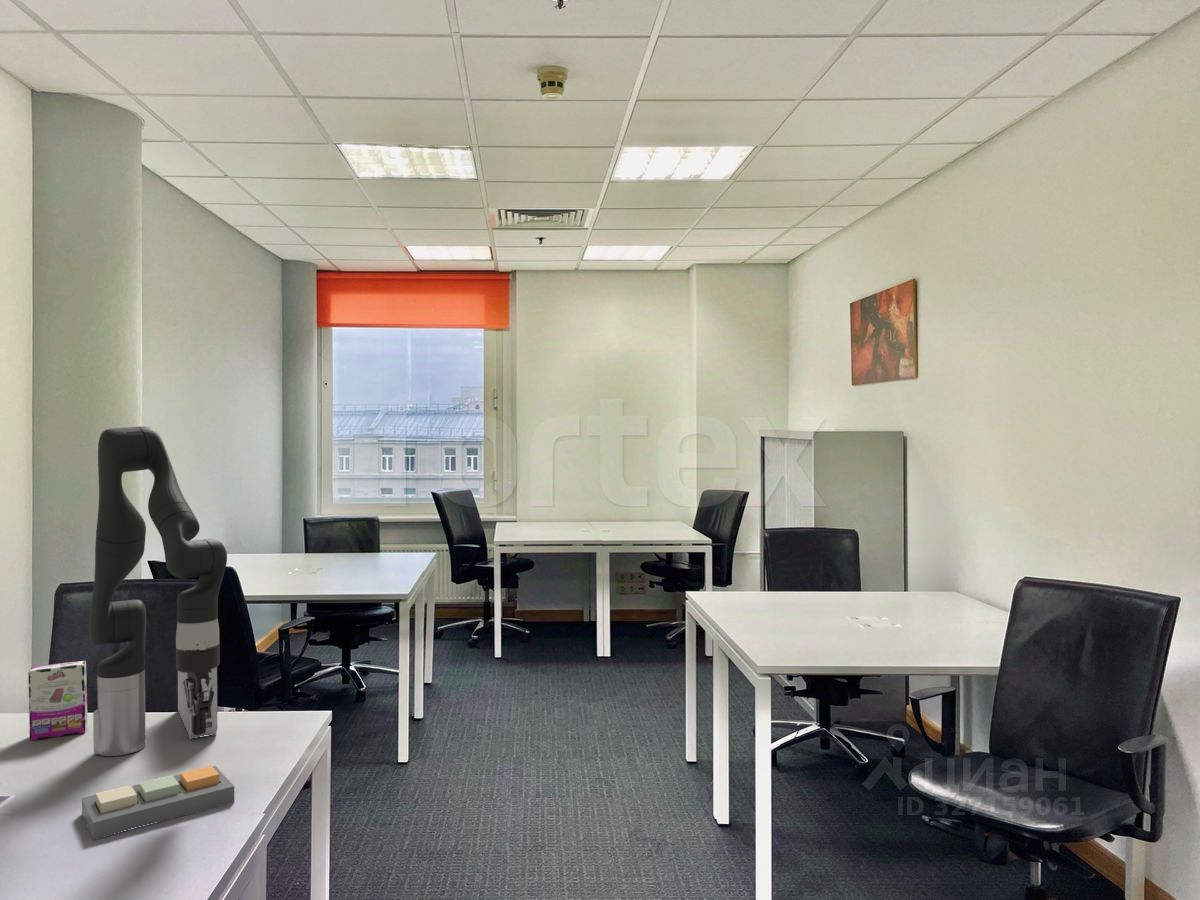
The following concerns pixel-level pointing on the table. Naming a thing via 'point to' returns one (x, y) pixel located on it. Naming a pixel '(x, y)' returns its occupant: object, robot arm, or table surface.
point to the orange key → (199, 778)
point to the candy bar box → (57, 700)
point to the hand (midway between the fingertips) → (198, 733)
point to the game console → (185, 712)
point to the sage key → (158, 788)
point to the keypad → (156, 807)
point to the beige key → (116, 798)
